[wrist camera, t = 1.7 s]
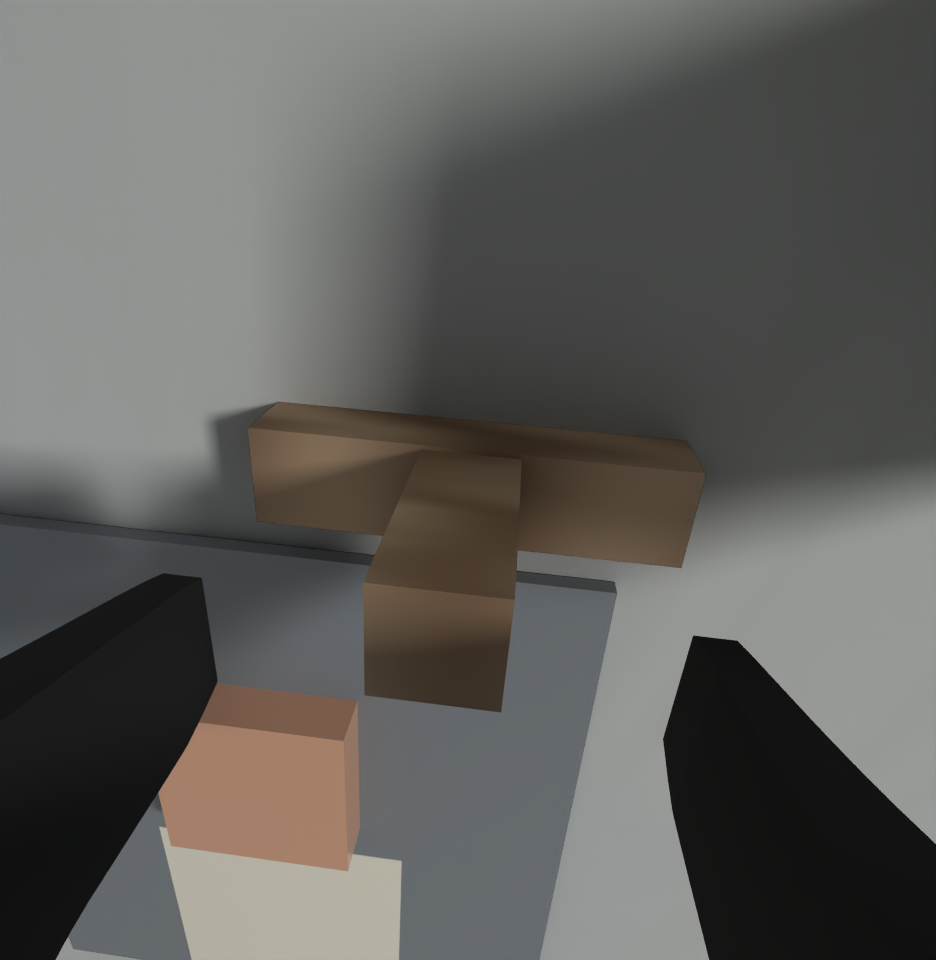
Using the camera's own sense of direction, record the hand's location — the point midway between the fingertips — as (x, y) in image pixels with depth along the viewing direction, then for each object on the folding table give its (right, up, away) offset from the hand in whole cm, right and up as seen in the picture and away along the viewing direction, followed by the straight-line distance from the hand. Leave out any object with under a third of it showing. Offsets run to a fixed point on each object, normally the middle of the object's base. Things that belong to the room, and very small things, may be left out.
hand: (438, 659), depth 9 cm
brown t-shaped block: (+1, +3, +6) cm, 7 cm away
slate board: (-6, -9, +13) cm, 17 cm away
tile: (-6, -6, +11) cm, 14 cm away
